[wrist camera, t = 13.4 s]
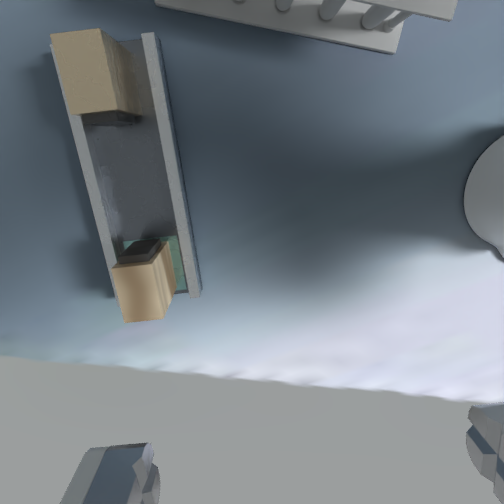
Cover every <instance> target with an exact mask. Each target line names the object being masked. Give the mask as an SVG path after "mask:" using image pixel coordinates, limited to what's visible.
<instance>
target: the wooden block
mask: <svg viewBox="0 0 504 504" xmlns="http://www.w3.org/2000/svg"><path fill="white" fill-rule="evenodd" d="M118 260H119V261H118V262H117V263H116V264H115V265H114V266H113V267H112V268H111V271H112V275H113V279H114V283H115V287H116V291H117V295H118V299H119V303H120V307H121V310H122V314H123V318H124V322H125V323H130V322H139V321H148V320H157V319H163V318H164V316H165V314H166V311H167V309H168V307H169V304H170V302H171V300H172V297H173V295H174V293H175V290H176V288H177V284H176V279H175V274H174V269H173V263H172V258H171V253H170V248H169V242H168V241H164V242H161V240H160V238H158V239H149V240H140V241H134V242H133V243H132V244H131V245H130V246H129V247H128V248H127V249H126V250H125V251H123V252H122V253H121V254H120V255H119V256H118Z"/></svg>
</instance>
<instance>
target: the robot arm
mask: <svg viewBox="0 0 504 504" xmlns="http://www.w3.org/2000/svg"><path fill="white" fill-rule="evenodd" d="M464 209H465V214H466V218H467V220H468V223H469V225H470V226H471V228H472V229H473V231H474V232H475V233H476V234H477V235H478V236H479V237H480V238H482V239H483V240H485V241H487V242H488V243H490V244H492V245H494V246H495V247H496V248H497V249H498V251H499V252H500V254H501V255H502V257H503V258H504V135H503V136H502V137H500V138H499V139H498V140H497V141H495V142H494V143H493V144H492V145H491V146H489V147H488V148H487V149H486V151H485V152H484V153H483V154H482V155H481V156H480V158H479V159H478V160H477V162H476V164H475V165H474V167H473V169H472V171H471V173H470V175H469V177H468V180H467V183H466V187H465V193H464ZM468 419H469V420H470V421H471V423H472V424H473V425H472V427H471V428H470V429H469V430H468V431H467V432H466V445H467V449H468V452H469V456H470V458H471V460H472V462H473V464H474V465H475V467H476V468H477V470H478V471H479V472H480V474H481V475H483V476H484V477H486V478H487V479H489V480H490V481H492V482H494V493H495V495H496V496H497V498H498V499H499V501H500V502H501V503H502V504H504V402H499V403H491V404H483V405H475V406H472V407H471V408H470V410H469V414H468ZM153 456H154V452H153V449H152V445H151V444H150V443H139V444H128V445H116V446H109V447H97V448H90V449H89V450H88V451H87V452H86V453H85V454H84V456H83V458H82V460H81V462H80V464H79V466H78V468H77V470H76V472H75V474H74V476H73V478H72V480H71V482H70V484H69V486H68V488H67V491H66V492H65V494H64V496H63V498H62V500H61V502H60V504H158V502H159V496H160V475H159V471H158V467H157V466H156V465H154V464H153V463H152V460H153Z"/></svg>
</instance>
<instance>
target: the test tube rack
mask: <svg viewBox="0 0 504 504" xmlns="http://www.w3.org/2000/svg"><path fill="white" fill-rule="evenodd" d="M457 2H458V0H155V4H156V6H160V7H164V8H169V9H174V10H179V11H184V12H189V13H194V14H199V15H204V16H208V17H213V18H218V19H223V20H228V21H233V22H237V23H242V24H247V25H252V26H257V27H262V28H266V29H271V30H276V31H281V32H286V33H291V34H296V35H300V36H305V37H310V38H315V39H320V40H325V41H329V42H334V43H339V44H344V45H349V46H354V47H359V48H363V49H368V50H373V51H378V52H382V53H387V54H394V53H396V49H397V46H398V42H399V38H400V34H401V30H402V27H403V23H404V20H405V19H406V18H408V17H409V16H411V15H412V14H416V15H420V16H425V17H429V18H434V19H439V20H443V21H448V22H450V21H451V20H452V18H453V15H454V12H455V8H456V5H457Z"/></svg>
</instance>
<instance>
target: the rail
mask: <svg viewBox="0 0 504 504" xmlns="http://www.w3.org/2000/svg"><path fill="white" fill-rule="evenodd" d="M50 36H51V40H52V44H50V48H51V51H52V55H53V59H54V63H55V67H56V71H57V75H58V78H59V82H60V86H61V90H62V94H63V98H64V101H65V105H66V109H67V113H68V117H69V121H70V125H71V128H72V132H73V136H74V140H75V144H76V148H77V151H78V155H79V159H80V163H81V167H82V171H83V175H84V178H85V182H86V186H87V190H88V194H89V198H90V201H91V205H92V209H93V213H94V217H95V221H96V225H97V228H98V232H99V236H100V240H101V244H102V248H103V251H104V255H105V259H106V263H107V267H108V271H109V275H110V278H111V282H112V286H113V290H114V294H115V298H116V301H117V305H118V307H119V306H120V303H119V299H118V295H117V291H116V287H115V283H114V279H113V275H112V271H111V268H112V267H113V266H114V265H115V264H116V263H117V262H118V261H119V260H118V256H119V255H120V254H121V253H122V252H123V251H125V250H126V249H127V248H128V247H129V246H130V245H131V244H132V243H133V242H134V241H140V240H149V239H158V238H160V240H161V242H164V241H168V242H169V248H170V253H171V258H172V263H173V269H174V274H175V279H176V284H177V288H176V290H175V293H174V294H179V293H188V292H189V295H190V298H197V297H200V295H201V291H202V282H201V276H200V270H199V265H198V259H197V253H196V247H195V241H194V235H193V230H192V224H191V218H190V212H189V206H188V200H187V194H186V189H185V183H184V177H183V171H182V165H181V159H180V154H179V148H178V142H177V136H176V130H175V124H174V119H173V113H172V107H171V101H170V95H169V89H168V83H167V78H166V72H165V66H164V60H163V54H162V48H161V43H160V39H159V38H158V37H157V36H156V34H155V33H154V32H150V33H141V36H142V39H139V40H131V41H123V42H117V41H116V40H114V39H113V38H112V37H111V36H109V35H108V34H107V33H105V32H104V31H103V30H102V29H100V28H96V29H88V30H80V31H71V32H63V33H55V34H50Z"/></svg>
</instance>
